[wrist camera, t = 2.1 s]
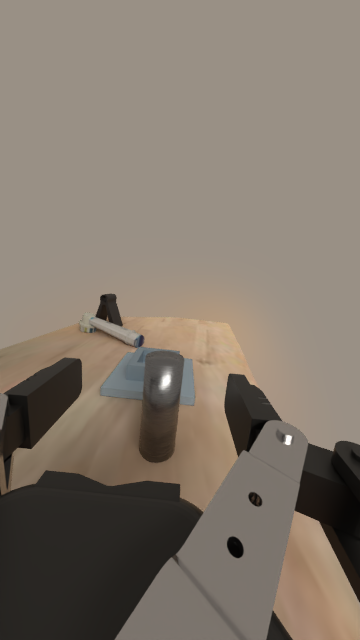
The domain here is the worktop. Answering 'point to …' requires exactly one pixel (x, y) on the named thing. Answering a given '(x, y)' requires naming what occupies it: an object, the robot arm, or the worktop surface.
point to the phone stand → (109, 309)
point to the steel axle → (160, 404)
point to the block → (131, 377)
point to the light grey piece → (110, 330)
